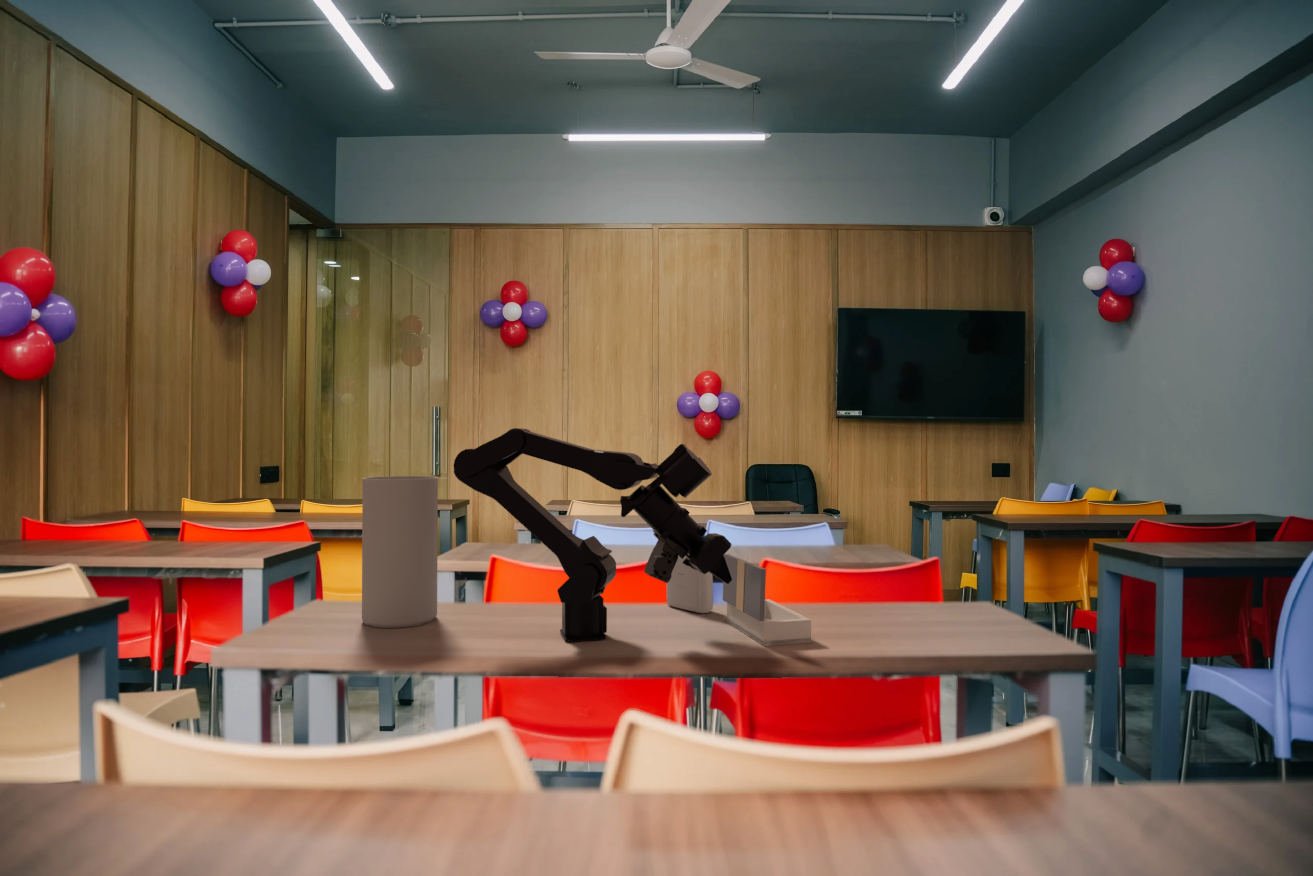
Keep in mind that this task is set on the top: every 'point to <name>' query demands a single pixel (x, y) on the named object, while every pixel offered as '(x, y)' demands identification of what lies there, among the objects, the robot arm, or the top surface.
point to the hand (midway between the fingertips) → (729, 581)
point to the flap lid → (745, 587)
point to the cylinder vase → (399, 550)
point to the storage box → (772, 625)
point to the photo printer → (690, 589)
